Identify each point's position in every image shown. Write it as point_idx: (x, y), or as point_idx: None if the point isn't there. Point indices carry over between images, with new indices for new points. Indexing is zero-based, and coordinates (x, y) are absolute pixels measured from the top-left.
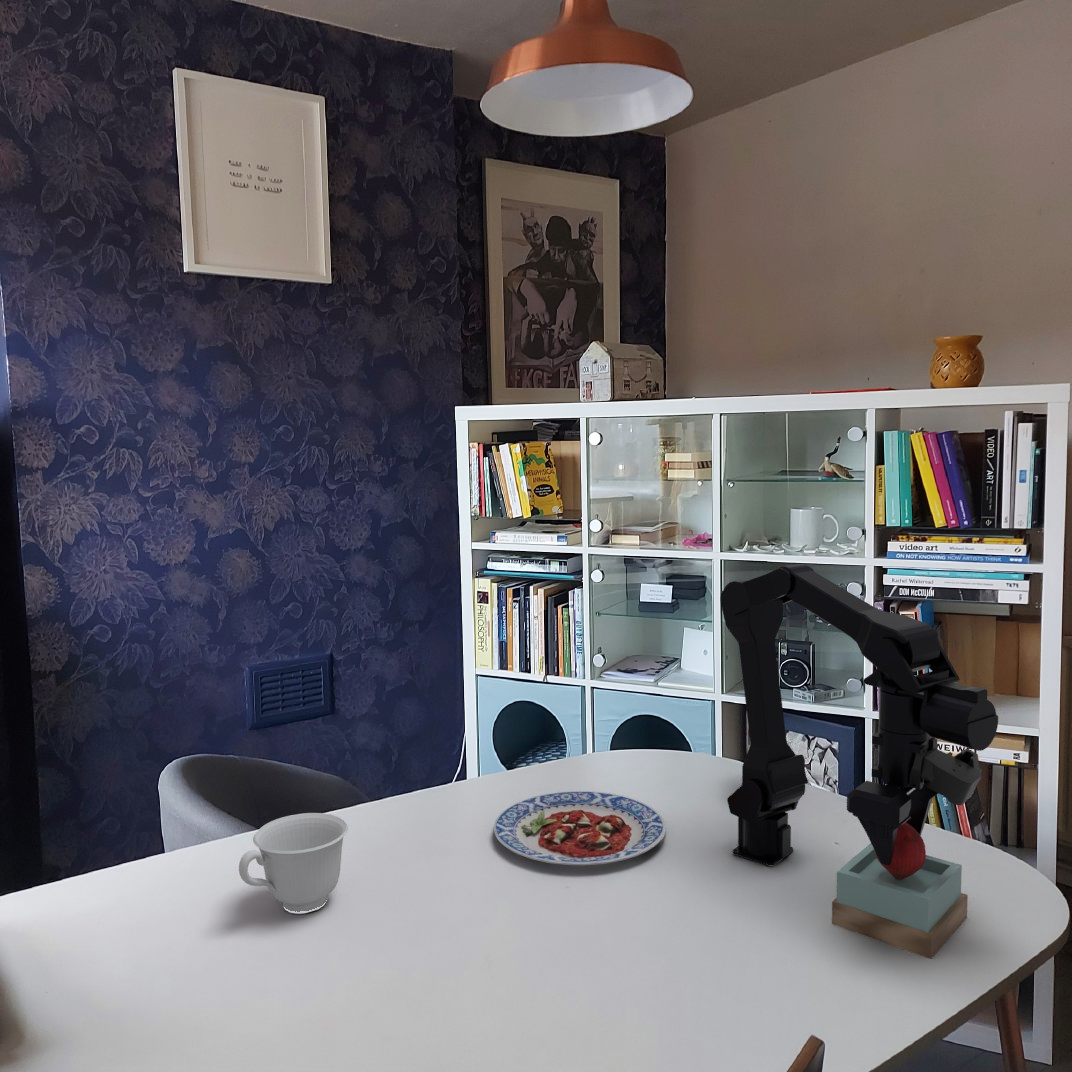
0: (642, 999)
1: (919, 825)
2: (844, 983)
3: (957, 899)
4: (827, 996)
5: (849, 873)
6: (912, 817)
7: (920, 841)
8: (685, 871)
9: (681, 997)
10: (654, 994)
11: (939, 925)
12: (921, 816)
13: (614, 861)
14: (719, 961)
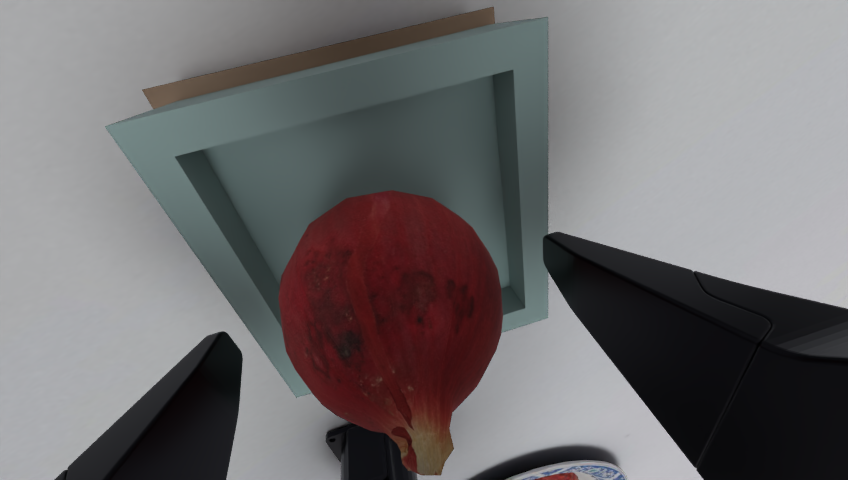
0: (820, 239)
1: (193, 391)
2: (672, 88)
3: (213, 92)
4: (728, 80)
5: (537, 297)
6: (200, 450)
7: (371, 267)
8: (509, 429)
9: (803, 217)
10: (806, 239)
11: (421, 25)
12: (157, 445)
13: (580, 461)
14: (699, 254)
